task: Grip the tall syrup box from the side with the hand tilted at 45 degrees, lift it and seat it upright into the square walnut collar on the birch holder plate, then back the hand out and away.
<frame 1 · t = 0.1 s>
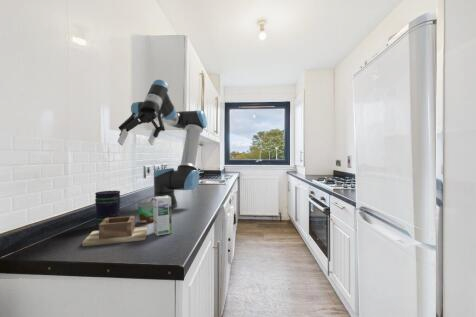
hand: (134, 143, 98), 36 cm above the worktop, tool tilted 35°, fingers open, 13 cm apart
syrup box: (162, 233, 96), on the worktop
storage jar: (108, 226, 108), on the worktop
food container: (151, 222, 114), on the worktop
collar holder: (118, 237, 92), on the worktop
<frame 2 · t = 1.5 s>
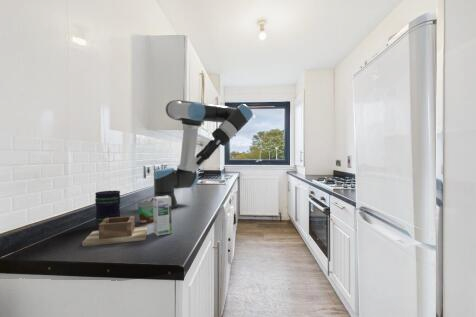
hand: (188, 170, 99), 25 cm above the worktop, tool tilted 45°, fingers open, 13 cm apart
nothing on the worktop moved.
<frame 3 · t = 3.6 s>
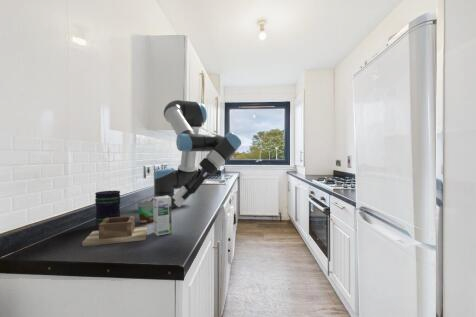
hand: (175, 201, 97), 12 cm above the worktop, tool tilted 45°, fingers open, 13 cm apart
nothing on the worktop moved.
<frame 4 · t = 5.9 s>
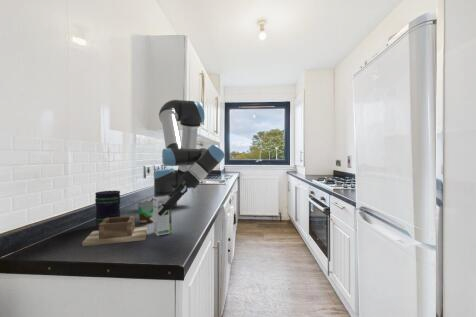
hand: (153, 218, 95), 6 cm above the worktop, tool tilted 45°, fingers closed on syrup box, 7 cm apart
syrup box: (162, 233, 96), on the worktop, touching gripper
everything else where it was.
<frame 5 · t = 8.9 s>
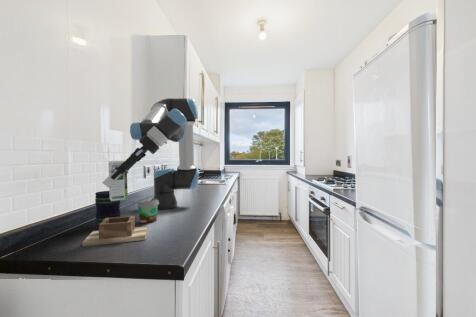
hand: (107, 184, 90), 20 cm above the worktop, tool tilted 45°, fingers closed on syrup box, 7 cm apart
syrup box: (118, 200, 92), point 14 cm above the worktop, touching gripper
everything else where it was.
when the fingers open (9 cm above the worktop, at t = 11.8 s): syrup box drops 4 cm, resting on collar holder.
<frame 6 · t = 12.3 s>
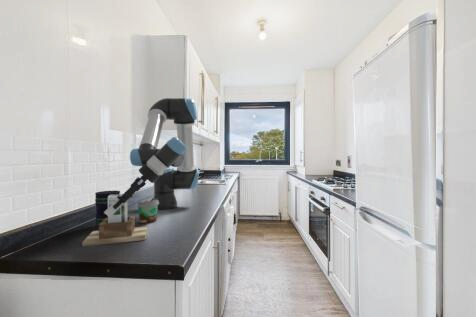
hand: (110, 210, 91), 10 cm above the worktop, tool tilted 45°, fingers open, 13 cm apart
syrup box: (118, 233, 92), point 1 cm above the worktop, touching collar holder
everything else where it was.
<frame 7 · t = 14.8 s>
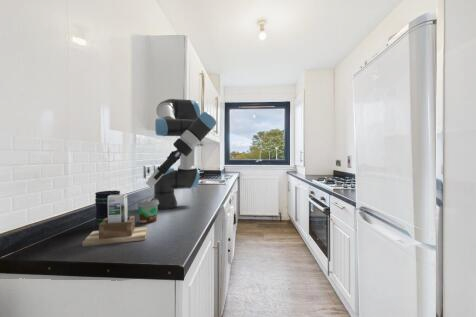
hand: (149, 183, 96), 20 cm above the worktop, tool tilted 40°, fingers open, 13 cm apart
nothing on the worktop moved.
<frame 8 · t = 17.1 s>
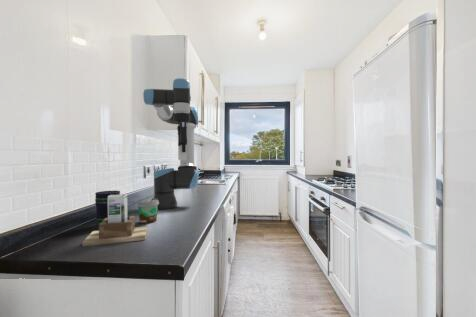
hand: (182, 160, 111), 29 cm above the worktop, tool pointing down, fingers open, 13 cm apart
nothing on the worktop moved.
at the end: syrup box 0.2 cm off-centre on the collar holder, point 1.3 cm above the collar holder's base; syrup box tilted 0°; the gripper is holding nothing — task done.
